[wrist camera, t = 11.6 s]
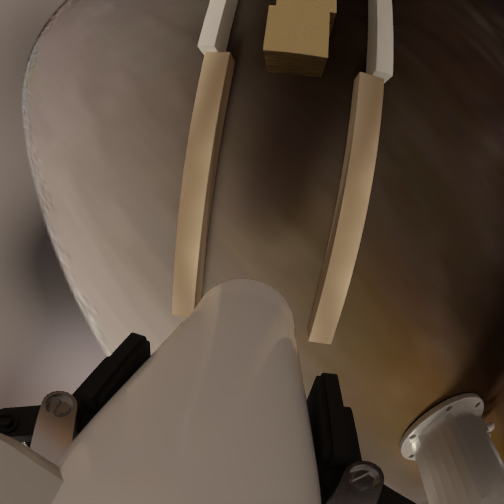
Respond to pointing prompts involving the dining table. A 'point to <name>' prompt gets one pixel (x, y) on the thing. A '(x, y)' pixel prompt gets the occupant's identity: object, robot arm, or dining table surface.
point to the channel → (203, 180)
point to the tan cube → (314, 7)
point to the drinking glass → (205, 415)
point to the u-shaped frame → (378, 33)
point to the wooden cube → (296, 40)
